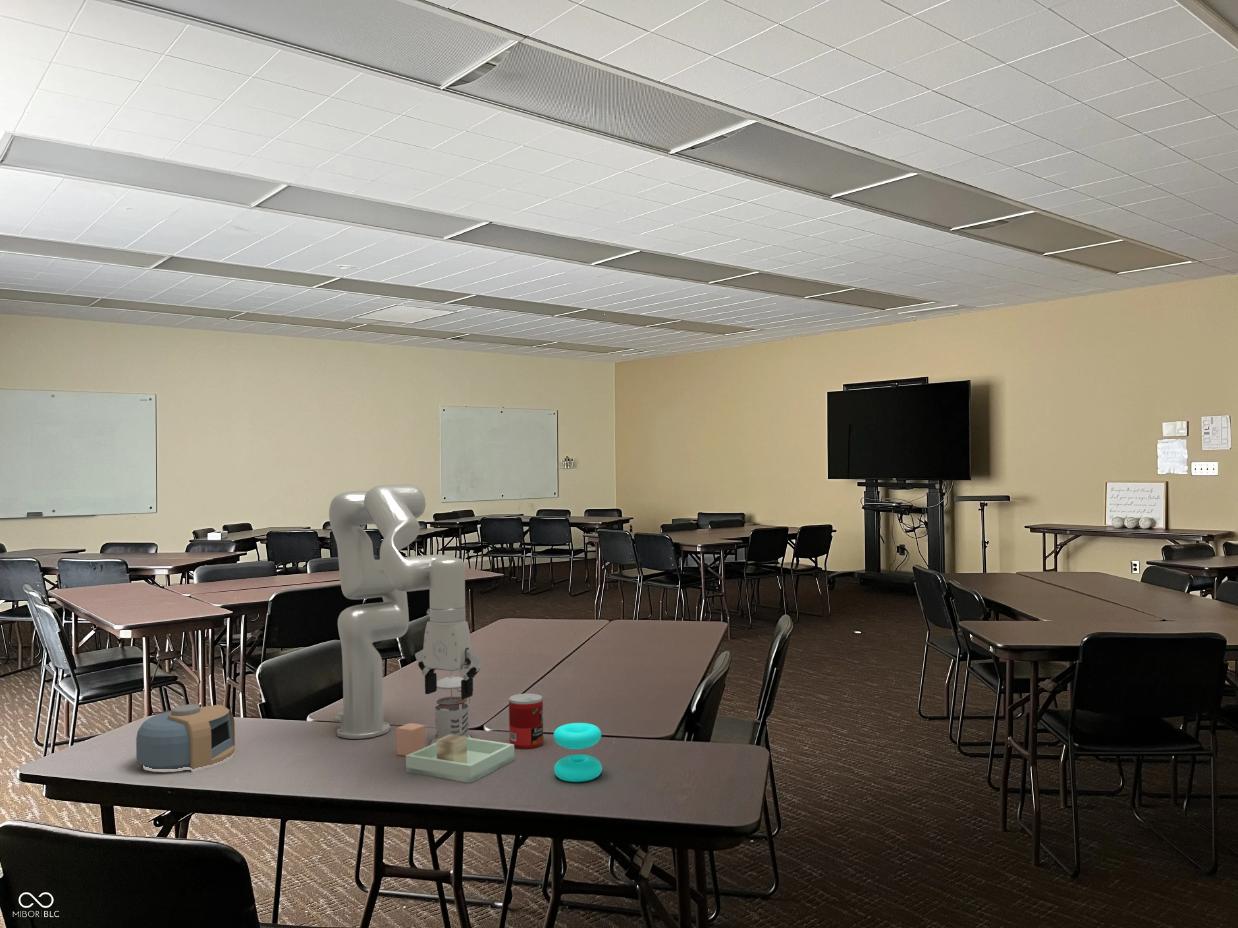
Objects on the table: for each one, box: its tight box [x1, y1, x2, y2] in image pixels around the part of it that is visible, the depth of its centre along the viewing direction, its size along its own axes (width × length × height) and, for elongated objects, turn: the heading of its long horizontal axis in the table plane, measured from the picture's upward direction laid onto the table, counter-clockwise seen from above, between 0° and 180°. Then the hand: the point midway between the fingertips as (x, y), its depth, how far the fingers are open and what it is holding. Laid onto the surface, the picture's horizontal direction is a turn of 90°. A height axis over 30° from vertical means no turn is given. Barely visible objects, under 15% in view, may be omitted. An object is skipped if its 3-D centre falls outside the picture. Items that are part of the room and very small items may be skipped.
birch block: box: [437, 734, 467, 763], centre depth 189 cm, size 4×4×6 cm
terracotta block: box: [396, 722, 426, 757], centre depth 202 cm, size 4×4×6 cm
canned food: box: [508, 693, 544, 750], centre depth 207 cm, size 8×8×11 cm
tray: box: [405, 737, 515, 784], centre depth 192 cm, size 17×16×4 cm
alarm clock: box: [135, 704, 236, 769], centre depth 200 cm, size 19×20×12 cm
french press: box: [431, 671, 473, 745], centre depth 212 cm, size 10×12×25 cm
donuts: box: [553, 722, 603, 783], centre depth 185 cm, size 10×10×10 cm
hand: (448, 694), depth 190 cm, fingers open, 9 cm apart
